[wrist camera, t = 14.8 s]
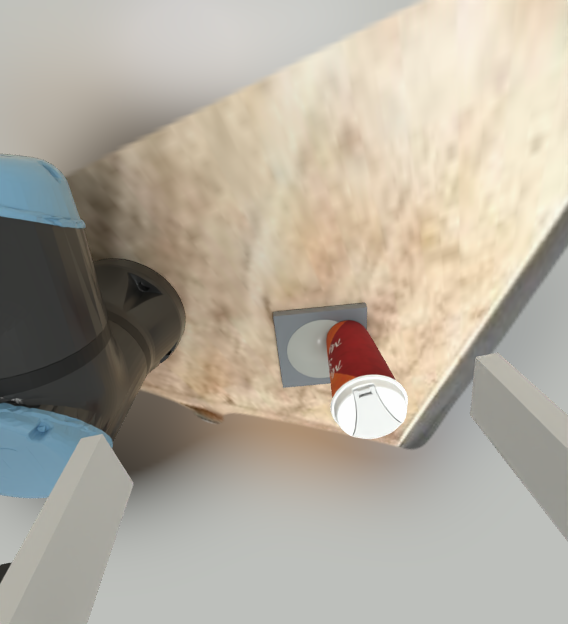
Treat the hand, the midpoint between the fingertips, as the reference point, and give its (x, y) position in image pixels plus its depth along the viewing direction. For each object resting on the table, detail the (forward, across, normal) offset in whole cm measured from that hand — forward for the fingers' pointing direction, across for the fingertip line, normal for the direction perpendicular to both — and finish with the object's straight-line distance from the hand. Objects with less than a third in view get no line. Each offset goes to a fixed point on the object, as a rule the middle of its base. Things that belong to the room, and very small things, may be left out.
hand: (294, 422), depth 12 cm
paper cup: (+29, +8, -17) cm, 34 cm away
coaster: (+30, +4, -18) cm, 36 cm away
